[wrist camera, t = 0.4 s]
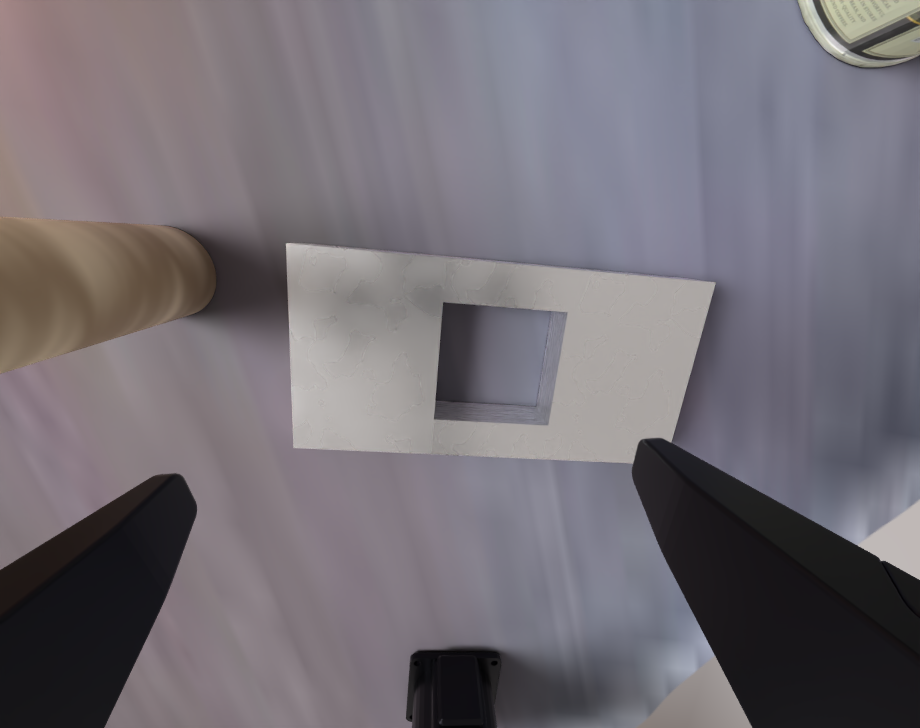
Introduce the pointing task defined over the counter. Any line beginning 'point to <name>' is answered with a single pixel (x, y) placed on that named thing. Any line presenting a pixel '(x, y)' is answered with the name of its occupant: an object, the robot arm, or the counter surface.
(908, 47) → the coffee can
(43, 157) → the counter surface
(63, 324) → the peg
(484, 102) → the counter surface
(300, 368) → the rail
